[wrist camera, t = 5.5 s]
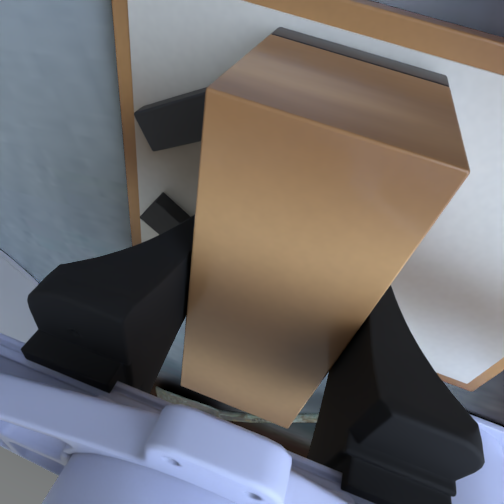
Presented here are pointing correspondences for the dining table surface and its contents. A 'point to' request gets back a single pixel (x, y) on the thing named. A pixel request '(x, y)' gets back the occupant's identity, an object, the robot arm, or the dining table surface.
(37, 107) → the dining table surface
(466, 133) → the whiteboard
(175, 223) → the black angular block
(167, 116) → the dark grey rectangular block
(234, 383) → the eraser
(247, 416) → the grey slim stick
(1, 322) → the kettle
